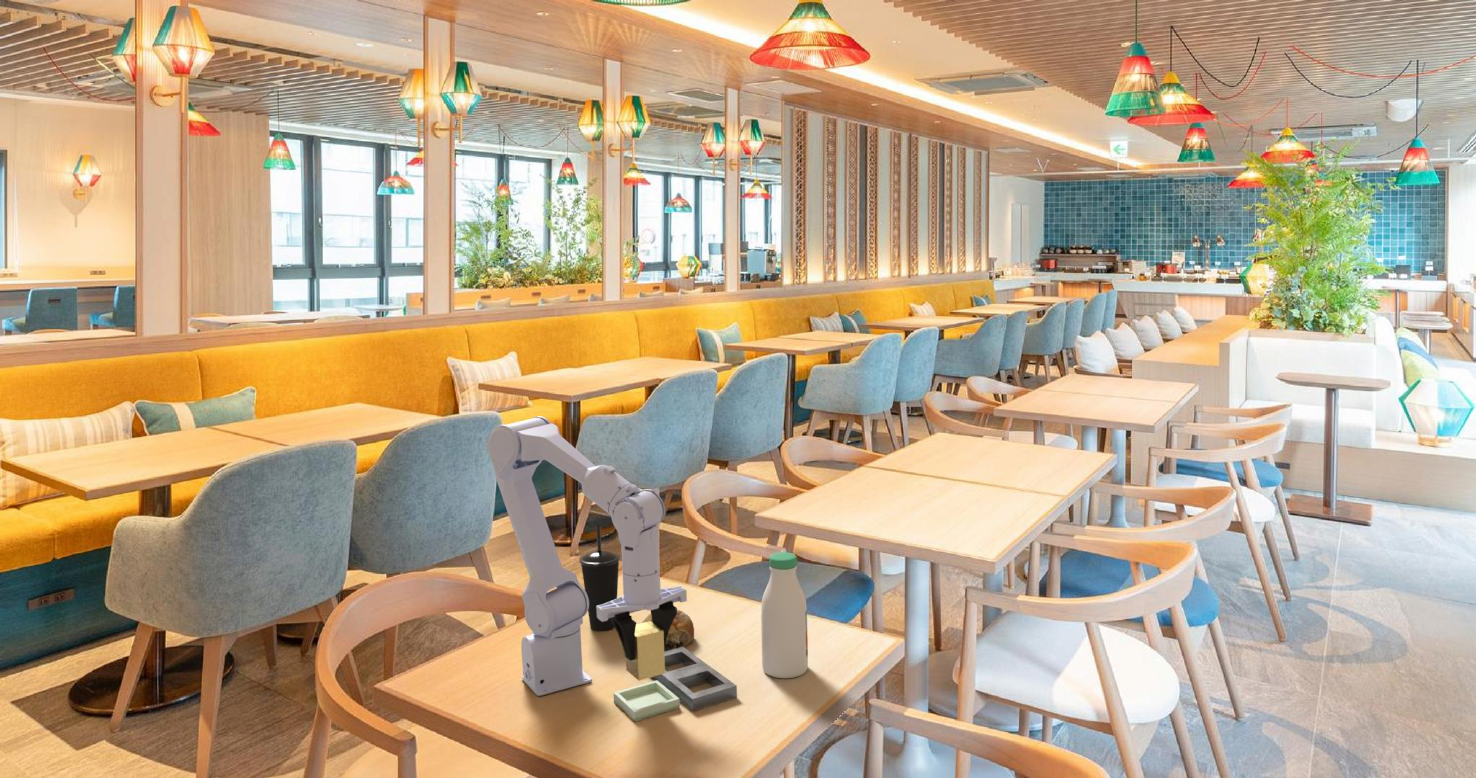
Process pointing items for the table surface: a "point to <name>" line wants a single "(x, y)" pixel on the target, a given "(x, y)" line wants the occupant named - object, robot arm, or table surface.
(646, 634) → the wood grain cuboid
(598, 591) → the drinking cup
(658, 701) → the tray
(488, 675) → the table surface
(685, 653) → the grey flat frame
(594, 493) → the robot arm
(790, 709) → the table surface
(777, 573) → the milk bottle
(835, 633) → the table surface
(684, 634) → the bread roll
